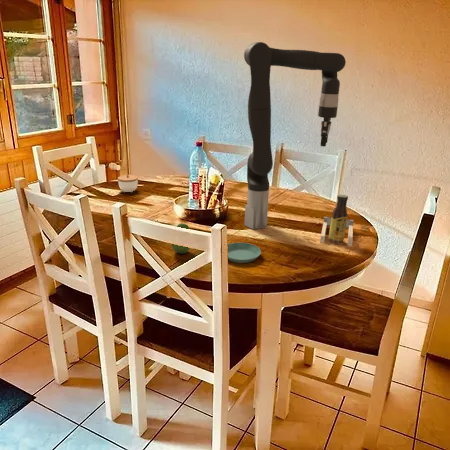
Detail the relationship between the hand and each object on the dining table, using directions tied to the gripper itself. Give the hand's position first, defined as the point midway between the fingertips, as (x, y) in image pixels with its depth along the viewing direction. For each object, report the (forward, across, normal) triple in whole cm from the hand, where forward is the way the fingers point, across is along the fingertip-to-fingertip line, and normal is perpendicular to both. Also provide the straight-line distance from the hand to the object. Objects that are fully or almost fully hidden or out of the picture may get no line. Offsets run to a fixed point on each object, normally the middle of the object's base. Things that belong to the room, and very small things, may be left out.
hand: (323, 144), depth 179 cm
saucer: (+37, -45, +23) cm, 63 cm away
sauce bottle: (+36, -19, -11) cm, 42 cm away
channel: (+36, -13, -10) cm, 40 cm away
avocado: (+37, -50, +45) cm, 77 cm away
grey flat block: (+36, +3, -10) cm, 37 cm away
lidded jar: (+37, +14, +103) cm, 110 cm away
